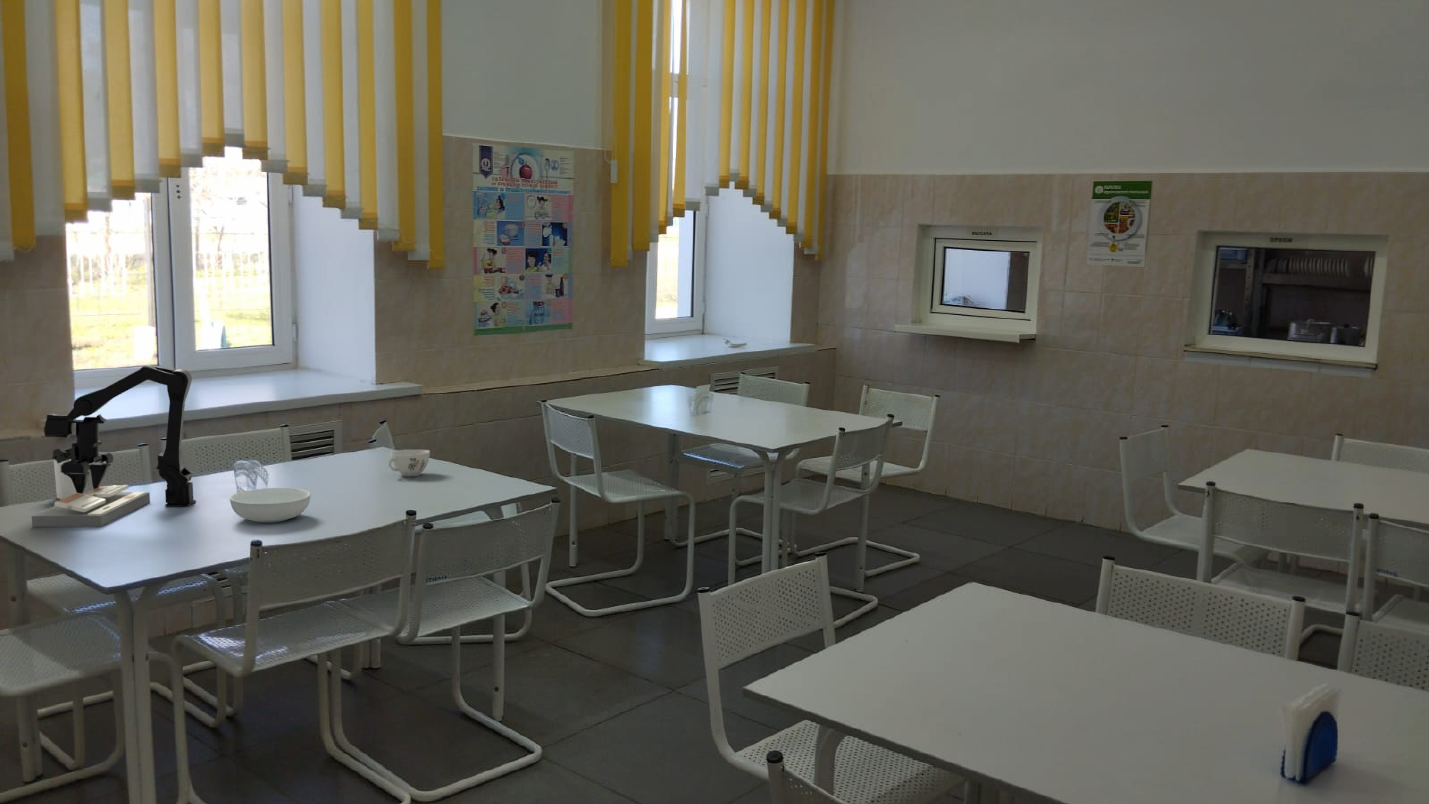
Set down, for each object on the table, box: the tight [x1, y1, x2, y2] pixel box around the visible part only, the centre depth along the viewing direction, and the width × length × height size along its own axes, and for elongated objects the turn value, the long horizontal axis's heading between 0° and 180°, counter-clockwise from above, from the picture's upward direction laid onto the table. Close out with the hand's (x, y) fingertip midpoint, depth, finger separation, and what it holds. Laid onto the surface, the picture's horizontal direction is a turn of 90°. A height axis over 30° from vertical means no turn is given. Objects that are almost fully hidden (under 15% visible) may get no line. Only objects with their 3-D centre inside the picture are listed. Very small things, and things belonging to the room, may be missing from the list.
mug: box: [53, 459, 77, 500], centre depth 338 cm, size 10×7×12 cm, turn 156°
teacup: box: [388, 449, 431, 478], centre depth 375 cm, size 15×12×8 cm
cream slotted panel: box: [83, 484, 129, 498], centre depth 322 cm, size 8×12×1 cm, turn 4°
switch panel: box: [31, 491, 151, 528], centre depth 316 cm, size 18×30×4 cm, turn 4°
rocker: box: [53, 493, 106, 512], centre depth 308 cm, size 8×12×1 cm, turn 4°
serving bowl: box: [229, 487, 311, 524], centre depth 312 cm, size 21×21×7 cm
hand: (87, 492), depth 322 cm, fingers open, 9 cm apart
